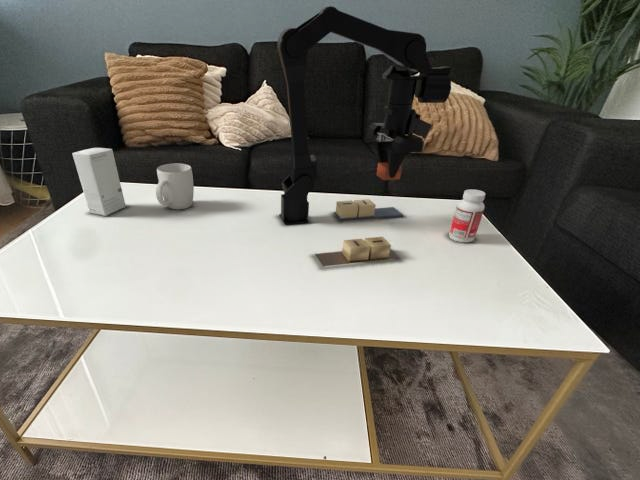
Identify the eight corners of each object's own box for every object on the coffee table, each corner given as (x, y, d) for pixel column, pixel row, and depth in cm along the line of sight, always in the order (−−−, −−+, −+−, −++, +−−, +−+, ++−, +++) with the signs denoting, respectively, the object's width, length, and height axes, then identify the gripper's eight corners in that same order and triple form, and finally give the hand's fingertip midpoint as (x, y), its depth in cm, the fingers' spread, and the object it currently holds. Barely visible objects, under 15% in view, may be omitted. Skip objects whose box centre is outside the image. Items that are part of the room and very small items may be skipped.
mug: (176, 198, 119) (170, 161, 112) (202, 203, 116) (197, 165, 109) (148, 212, 110) (140, 173, 103) (175, 218, 107) (169, 178, 101)
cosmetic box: (105, 216, 107) (89, 155, 97) (88, 213, 109) (70, 152, 99) (127, 206, 113) (113, 147, 103) (110, 203, 114) (94, 145, 105)
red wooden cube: (383, 180, 101) (385, 167, 99) (376, 175, 105) (378, 162, 103) (399, 179, 102) (402, 166, 100) (392, 174, 106) (394, 161, 104)
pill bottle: (470, 233, 103) (484, 188, 96) (477, 243, 98) (492, 197, 91) (445, 232, 103) (458, 187, 96) (451, 242, 99) (465, 196, 92)
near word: (322, 268, 87) (324, 252, 85) (314, 256, 92) (315, 240, 89) (398, 260, 91) (402, 245, 88) (387, 249, 95) (390, 234, 93)
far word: (340, 221, 107) (342, 208, 105) (333, 213, 112) (334, 200, 109) (402, 216, 111) (405, 203, 109) (392, 209, 115) (395, 195, 113)
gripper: (453, 109, 88) (435, 184, 98) (413, 96, 101) (400, 163, 112) (406, 110, 85) (392, 187, 96) (371, 97, 99) (363, 165, 109)
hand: (388, 174), depth 103 cm, fingers closed on red wooden cube, 4 cm apart
